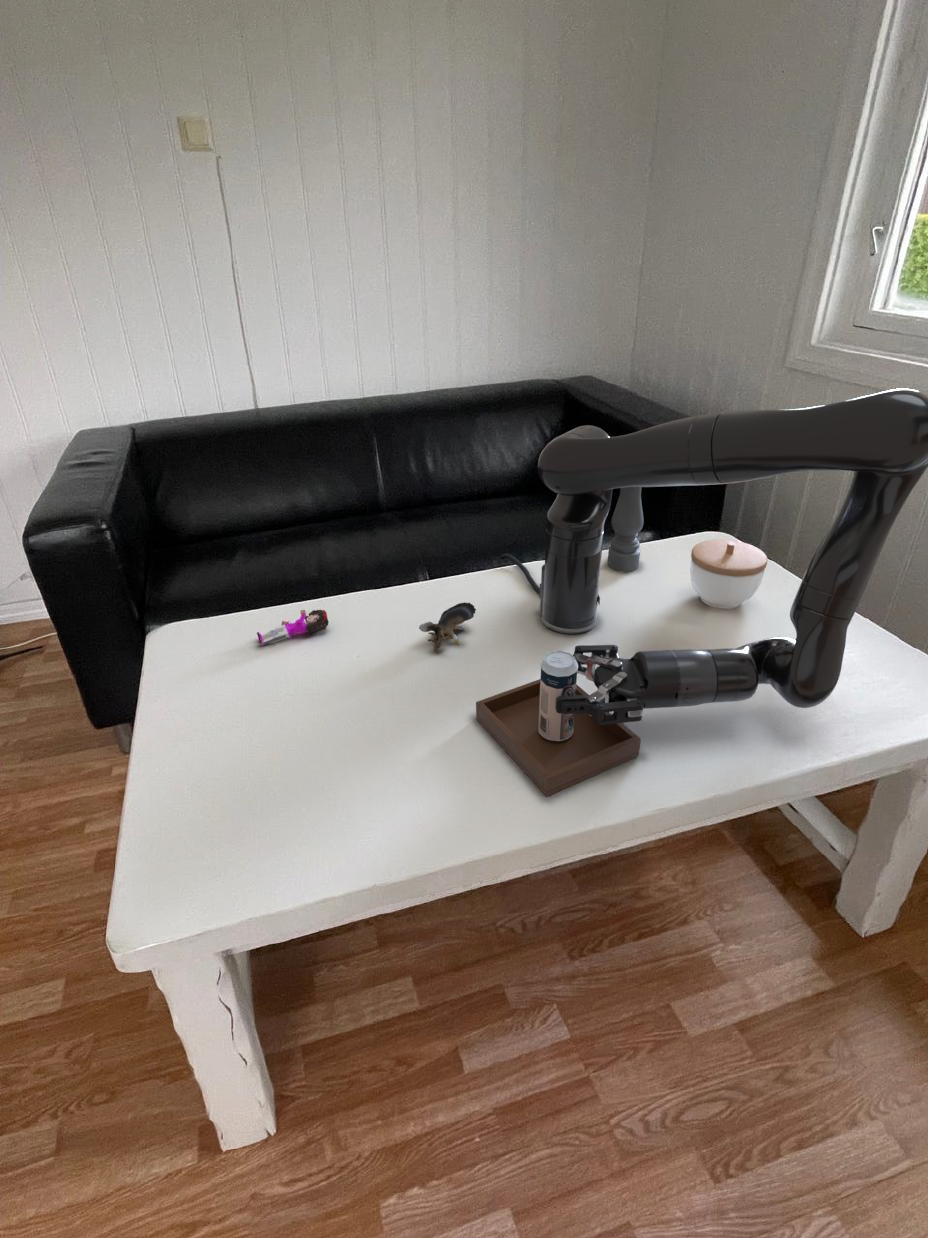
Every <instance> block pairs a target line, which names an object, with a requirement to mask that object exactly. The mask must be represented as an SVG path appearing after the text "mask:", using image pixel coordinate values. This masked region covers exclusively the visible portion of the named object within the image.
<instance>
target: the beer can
mask: <svg viewBox="0 0 928 1238" xmlns="http://www.w3.org/2000/svg"><path fill="white" fill-rule="evenodd" d="M577 670H578V663H577V661H576V660H575V657H574V656H573V654H572V653H571V652H569V651H568V652H567V651H563V650H555V651H550V652H548V653H547V654H545V655H544V657H543V659H542V660H541V662H540V678H539V679H540V703H539V726H538V731H539V733H540V734H541V736H543V737H544V738H546V739H548V740H551V741H563V740H566V739H568V738H569V737H571V736H572V734H573V722H574V714H562V713H560V714H559V713H557V712H556V708H555V705H556V698H557V697H558V696H572V695H576V684H577V680H578V673H577Z"/></svg>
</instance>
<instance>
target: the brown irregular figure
mask: <svg viewBox="0 0 928 1238" xmlns="http://www.w3.org/2000/svg"><path fill="white" fill-rule="evenodd" d="M476 611H477V608H476V607H475V605H473V603H471V602H466V601H465V602H459V603H456V604H455V605H452V606H451V607H449V608H447V609H446V610H444V611H443V612H442V613H441V616H440V617H439V620H438V622H437V623H433V622H432V621H426V622H424V623H422V624H420V625H419V626H418V629H419V630H420V631H421V632H423V633H427V634H428V635H431V636H432V637H433V639H432V638H429V639H427V642H428V643H429V642H431V643H433V644H434V648H433V652H434V653H435V652H437V651H438V650H439V649H441V647H442V644H443V642H445V641H449V640H451V641H452V642H455V643H456V644H458V645H459V646H460V644H461V642H460V638H459V637H458V636H457V635H456V634H455V632H454V631H455V630H458V631H459V630H461V631H465V630H466V629H465V627H463V626H460V625H462V624H463V623H464V622H467V621H470V620H471V619H473V618H474V616H475V614H476Z"/></svg>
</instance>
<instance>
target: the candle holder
mask: <svg viewBox="0 0 928 1238" xmlns="http://www.w3.org/2000/svg"><path fill="white" fill-rule="evenodd" d="M644 523H645V521H644V511H643V505H642V487H624V488H620V490H619V496H618V499H617V501H616V505H615V508H614V511H613V515H612V516H611V523H610V524H611V527H612V529H613V531H614V536H613V538H612V539H611V540H610V544H609V545H610V546H609V547H608V553H607V563H606V564H607V565H606V566H607V567H608V569H610V570H612V571H615V572H617V573H631V572H635V571H636V570H638V569H639V566H640V556H641V549H640V546H641V545H640V544H641V543H640V541H639V539H638V538H637V537H638V535H639V533H640V532H641V530H642V529H643V527H644Z"/></svg>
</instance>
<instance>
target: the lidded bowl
mask: <svg viewBox="0 0 928 1238" xmlns="http://www.w3.org/2000/svg"><path fill="white" fill-rule="evenodd" d="M690 558H691V559H690V566H689V577H690V578H689V579H690V582H691V586H692V588H693V590H694V592H695V593H696V595H698V597H699V599H700V601H701V602H702V603H704V604H706V605H707V606H709V607H712V608H715V609H720V610H721V609H722V610H733V609H736V608H738V607H740V606H741V605H742V604H744V603H745V602H747V601H749V600H750V599H751V598H752V597H753V596H754V595H755V594H756V592H757V591H758V590H759V587H760V585H761V583H762V580H763V577H764V574H765V571H766V568H767V565H768V556H767V554H766V553H765V552H764V551H763V550H761V549H760V548H758V547H756V546H754V545H752V544H750V543H746V542H743V541H737V540H731V539H708V540H705V541H701V542H698V543H696V544H695V545H694V546H693V547H692V550H691V554H690Z"/></svg>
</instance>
